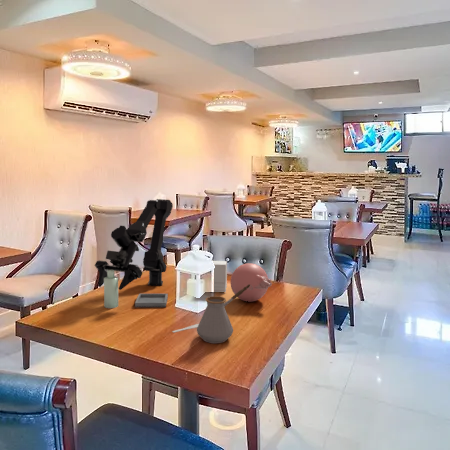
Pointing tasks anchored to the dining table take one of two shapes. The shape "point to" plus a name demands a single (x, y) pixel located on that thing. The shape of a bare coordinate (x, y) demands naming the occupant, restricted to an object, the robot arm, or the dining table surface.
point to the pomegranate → (250, 282)
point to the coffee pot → (216, 319)
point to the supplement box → (220, 276)
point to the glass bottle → (110, 290)
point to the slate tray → (151, 300)
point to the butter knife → (187, 328)
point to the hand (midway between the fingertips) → (109, 288)
